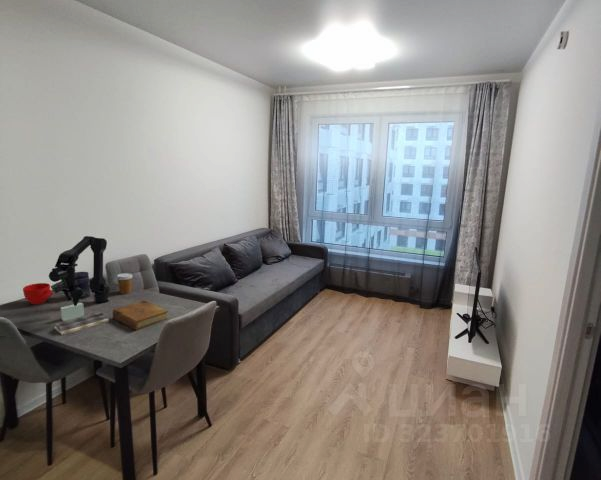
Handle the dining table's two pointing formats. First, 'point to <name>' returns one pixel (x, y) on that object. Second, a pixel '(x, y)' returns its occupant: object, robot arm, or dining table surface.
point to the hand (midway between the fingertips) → (71, 303)
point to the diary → (140, 315)
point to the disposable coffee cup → (124, 282)
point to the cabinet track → (81, 323)
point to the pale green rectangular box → (72, 311)
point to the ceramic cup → (37, 293)
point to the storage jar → (83, 283)
